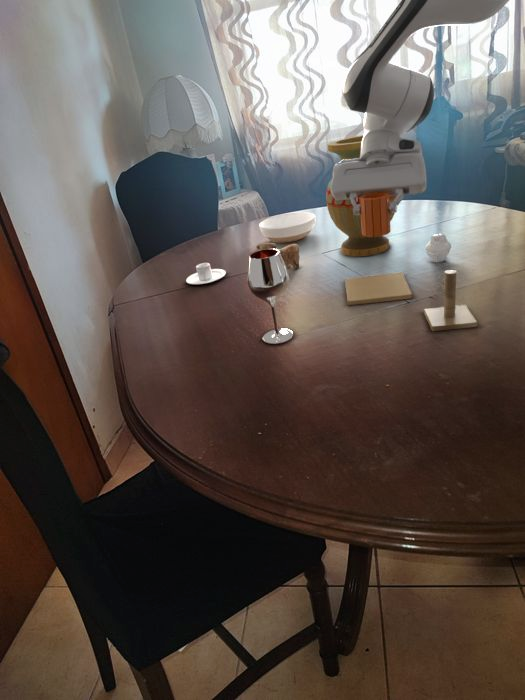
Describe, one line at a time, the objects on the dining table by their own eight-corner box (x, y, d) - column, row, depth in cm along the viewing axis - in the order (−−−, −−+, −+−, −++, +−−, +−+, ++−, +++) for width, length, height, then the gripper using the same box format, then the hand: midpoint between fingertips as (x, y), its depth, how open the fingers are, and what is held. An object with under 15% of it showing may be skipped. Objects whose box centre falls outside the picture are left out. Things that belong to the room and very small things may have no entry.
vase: (356, 265, 125) (347, 147, 111) (319, 251, 142) (307, 146, 128) (415, 246, 131) (413, 131, 117) (372, 234, 148) (367, 132, 134)
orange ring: (388, 227, 103) (387, 190, 100) (391, 234, 98) (390, 196, 94) (361, 230, 105) (358, 194, 101) (363, 238, 99) (360, 200, 96)
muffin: (452, 263, 116) (453, 235, 112) (426, 265, 117) (426, 238, 114) (448, 254, 121) (449, 228, 117) (424, 257, 122) (424, 231, 119)
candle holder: (224, 268, 143) (221, 255, 141) (228, 280, 132) (225, 266, 130) (186, 276, 142) (182, 263, 140) (187, 289, 131) (183, 275, 129)
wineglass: (269, 326, 101) (254, 247, 93) (303, 328, 98) (291, 246, 89) (252, 344, 95) (235, 261, 87) (288, 347, 92) (274, 261, 83)
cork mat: (402, 275, 114) (402, 272, 113) (412, 298, 102) (412, 294, 101) (345, 282, 116) (344, 278, 116) (348, 305, 104) (347, 301, 104)
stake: (465, 309, 93) (467, 261, 88) (476, 327, 86) (479, 276, 82) (424, 313, 95) (424, 267, 90) (432, 331, 88) (432, 282, 83)
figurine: (254, 282, 128) (248, 247, 123) (290, 261, 138) (285, 228, 133) (273, 284, 123) (267, 248, 119) (308, 263, 133) (304, 229, 128)
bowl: (319, 226, 167) (317, 209, 164) (315, 242, 150) (313, 224, 147) (266, 233, 171) (264, 216, 168) (257, 249, 155) (254, 231, 152)
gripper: (330, 152, 103) (323, 208, 100) (427, 140, 95) (423, 200, 92) (337, 169, 109) (330, 222, 106) (429, 159, 101) (425, 216, 98)
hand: (374, 212), depth 99 cm, fingers closed on orange ring, 6 cm apart
